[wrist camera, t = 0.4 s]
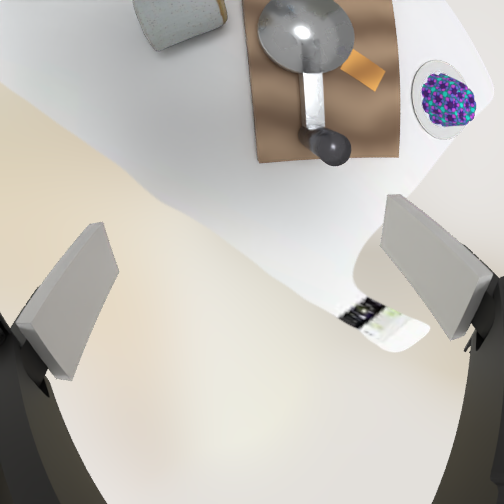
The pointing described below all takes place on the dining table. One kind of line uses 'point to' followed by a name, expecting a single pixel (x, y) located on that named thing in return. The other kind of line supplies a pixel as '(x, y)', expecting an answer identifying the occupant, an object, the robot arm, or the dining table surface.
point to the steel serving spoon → (310, 62)
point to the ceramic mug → (178, 19)
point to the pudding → (442, 100)
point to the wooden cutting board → (331, 88)
